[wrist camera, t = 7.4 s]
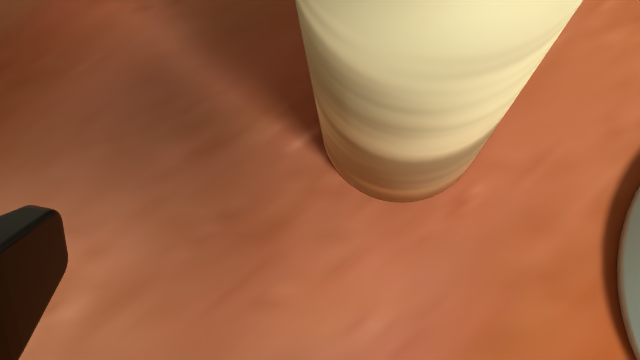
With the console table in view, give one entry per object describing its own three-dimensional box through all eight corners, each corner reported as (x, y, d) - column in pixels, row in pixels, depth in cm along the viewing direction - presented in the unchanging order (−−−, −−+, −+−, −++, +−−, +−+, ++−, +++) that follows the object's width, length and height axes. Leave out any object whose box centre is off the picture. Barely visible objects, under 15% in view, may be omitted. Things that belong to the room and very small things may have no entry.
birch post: (511, 153, 21) (692, -53, 10) (370, 231, 21) (383, 115, 9) (427, 26, 23) (498, -290, 11) (294, 98, 22) (221, -150, 11)
